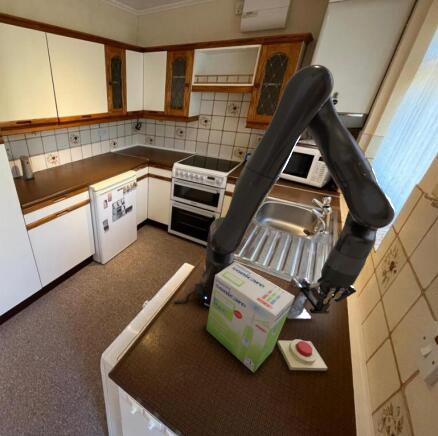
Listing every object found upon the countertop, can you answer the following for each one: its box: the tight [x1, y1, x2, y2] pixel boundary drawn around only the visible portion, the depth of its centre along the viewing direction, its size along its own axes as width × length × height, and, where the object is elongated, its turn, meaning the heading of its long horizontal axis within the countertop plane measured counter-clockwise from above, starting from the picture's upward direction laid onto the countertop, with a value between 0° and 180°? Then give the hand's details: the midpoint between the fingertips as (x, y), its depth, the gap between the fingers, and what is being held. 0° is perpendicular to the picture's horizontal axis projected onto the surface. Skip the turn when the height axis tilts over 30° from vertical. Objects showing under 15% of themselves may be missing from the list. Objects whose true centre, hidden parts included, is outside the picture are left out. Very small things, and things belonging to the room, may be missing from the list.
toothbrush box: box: [205, 261, 295, 374], centre depth 69 cm, size 18×10×24 cm, turn 37°
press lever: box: [297, 280, 330, 315], centre depth 77 cm, size 12×5×2 cm, turn 179°
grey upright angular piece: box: [286, 277, 312, 320], centre depth 83 cm, size 10×8×13 cm
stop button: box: [296, 340, 312, 357], centre depth 68 cm, size 4×4×2 cm
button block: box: [276, 339, 328, 371], centre depth 69 cm, size 10×8×4 cm
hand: (320, 309), depth 72 cm, fingers closed
